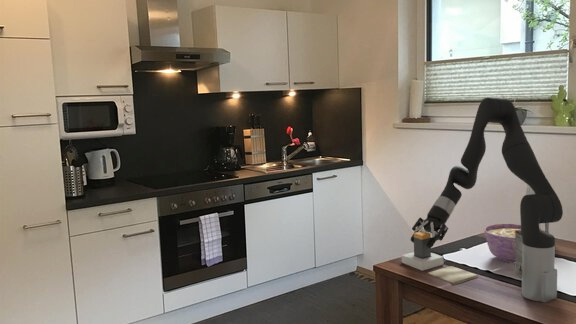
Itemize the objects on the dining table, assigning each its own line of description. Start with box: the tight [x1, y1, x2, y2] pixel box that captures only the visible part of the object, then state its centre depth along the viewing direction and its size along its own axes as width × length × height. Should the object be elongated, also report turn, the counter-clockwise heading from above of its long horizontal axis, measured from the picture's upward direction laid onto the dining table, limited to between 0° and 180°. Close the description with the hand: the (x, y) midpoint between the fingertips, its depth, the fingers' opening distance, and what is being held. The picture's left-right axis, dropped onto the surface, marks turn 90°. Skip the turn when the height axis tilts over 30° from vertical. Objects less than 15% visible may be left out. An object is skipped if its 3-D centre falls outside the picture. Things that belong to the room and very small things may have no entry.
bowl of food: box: [483, 223, 521, 264], centre depth 196 cm, size 20×20×12 cm
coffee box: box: [514, 229, 547, 279], centre depth 178 cm, size 9×6×16 cm
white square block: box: [401, 251, 445, 271], centre depth 196 cm, size 11×11×4 cm
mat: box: [427, 265, 478, 286], centre depth 183 cm, size 12×12×1 cm
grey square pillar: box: [413, 230, 432, 259], centre depth 195 cm, size 4×4×12 cm
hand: (420, 244), depth 194 cm, fingers open, 8 cm apart
